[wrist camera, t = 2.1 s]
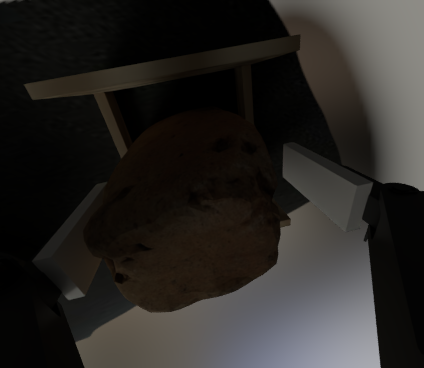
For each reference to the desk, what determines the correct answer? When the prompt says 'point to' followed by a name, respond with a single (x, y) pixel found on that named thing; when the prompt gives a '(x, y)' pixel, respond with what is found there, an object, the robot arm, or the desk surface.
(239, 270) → the brown potato
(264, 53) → the cradle
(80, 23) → the desk surface
